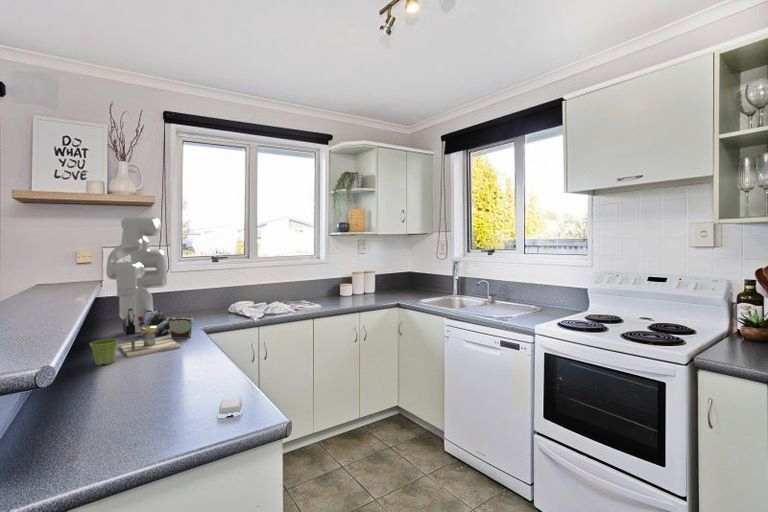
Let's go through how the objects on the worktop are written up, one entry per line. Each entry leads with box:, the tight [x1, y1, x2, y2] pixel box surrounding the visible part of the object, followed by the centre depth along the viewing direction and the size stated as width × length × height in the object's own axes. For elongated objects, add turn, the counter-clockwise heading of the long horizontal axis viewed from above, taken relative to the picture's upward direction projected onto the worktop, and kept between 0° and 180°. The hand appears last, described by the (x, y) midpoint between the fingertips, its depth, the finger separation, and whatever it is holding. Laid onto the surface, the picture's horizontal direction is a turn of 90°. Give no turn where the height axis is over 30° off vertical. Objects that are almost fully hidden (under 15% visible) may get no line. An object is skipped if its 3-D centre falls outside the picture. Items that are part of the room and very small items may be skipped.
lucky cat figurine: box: [138, 309, 170, 337], centre depth 206 cm, size 15×12×14 cm
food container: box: [168, 314, 194, 339], centre depth 200 cm, size 12×6×10 cm, turn 84°
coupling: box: [124, 320, 157, 336], centre depth 179 cm, size 12×9×6 cm
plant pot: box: [88, 338, 119, 366], centre depth 159 cm, size 9×9×9 cm
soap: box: [218, 396, 243, 414], centre depth 115 cm, size 9×7×3 cm
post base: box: [119, 332, 181, 358], centre depth 181 cm, size 20×20×7 cm
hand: (129, 332), depth 176 cm, fingers open, 7 cm apart
